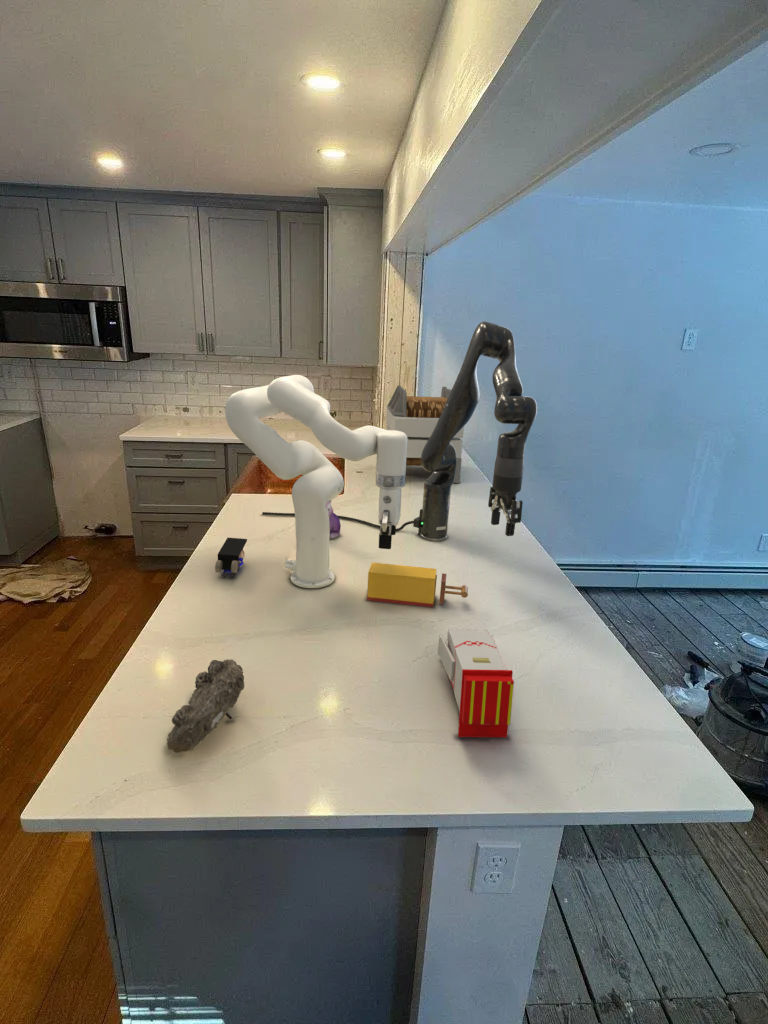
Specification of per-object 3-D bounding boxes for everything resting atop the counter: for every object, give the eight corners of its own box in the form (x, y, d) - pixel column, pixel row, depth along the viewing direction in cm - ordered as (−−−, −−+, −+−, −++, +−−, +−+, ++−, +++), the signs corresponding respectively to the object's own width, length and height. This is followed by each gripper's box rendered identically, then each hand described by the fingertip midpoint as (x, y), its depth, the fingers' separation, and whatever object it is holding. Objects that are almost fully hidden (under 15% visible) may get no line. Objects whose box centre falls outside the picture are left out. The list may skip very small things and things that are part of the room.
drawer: (466, 597, 156) (468, 576, 153) (466, 606, 151) (469, 584, 149) (384, 589, 158) (385, 567, 156) (382, 597, 154) (383, 575, 151)
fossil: (192, 660, 117) (244, 628, 112) (224, 691, 120) (276, 661, 115) (142, 746, 98) (202, 712, 93) (182, 779, 101) (242, 748, 96)
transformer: (382, 463, 289) (386, 382, 275) (445, 464, 293) (451, 384, 279) (390, 482, 257) (394, 392, 243) (460, 483, 261) (468, 394, 247)
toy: (488, 613, 130) (523, 677, 101) (484, 667, 133) (517, 744, 104) (435, 612, 130) (455, 676, 101) (432, 666, 133) (451, 743, 103)
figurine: (320, 542, 189) (321, 500, 184) (310, 531, 198) (309, 490, 193) (346, 538, 193) (347, 496, 188) (335, 528, 202) (335, 488, 197)
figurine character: (238, 584, 162) (249, 557, 175) (236, 562, 158) (247, 536, 172) (215, 584, 161) (227, 556, 175) (212, 561, 158) (225, 535, 171)
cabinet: (434, 596, 157) (436, 568, 155) (433, 607, 152) (435, 578, 149) (370, 589, 160) (371, 562, 157) (367, 600, 154) (368, 571, 151)
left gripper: (401, 490, 136) (397, 555, 142) (408, 471, 152) (404, 530, 158) (370, 488, 137) (368, 552, 143) (380, 469, 153) (378, 528, 159)
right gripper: (535, 479, 144) (527, 538, 149) (508, 465, 157) (502, 520, 162) (508, 480, 142) (501, 540, 147) (483, 466, 155) (478, 521, 160)
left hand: (387, 541), depth 151 cm, fingers open, 9 cm apart
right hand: (501, 529), depth 155 cm, fingers open, 8 cm apart
